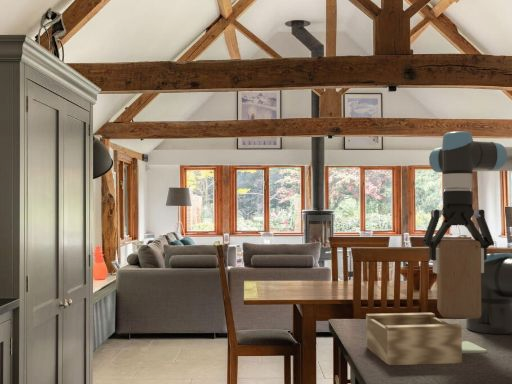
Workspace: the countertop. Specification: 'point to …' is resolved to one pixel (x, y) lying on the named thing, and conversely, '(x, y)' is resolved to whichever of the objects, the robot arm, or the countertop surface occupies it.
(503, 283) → the robot arm
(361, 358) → the countertop surface
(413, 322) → the crate
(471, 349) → the mat
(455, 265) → the wooden block
